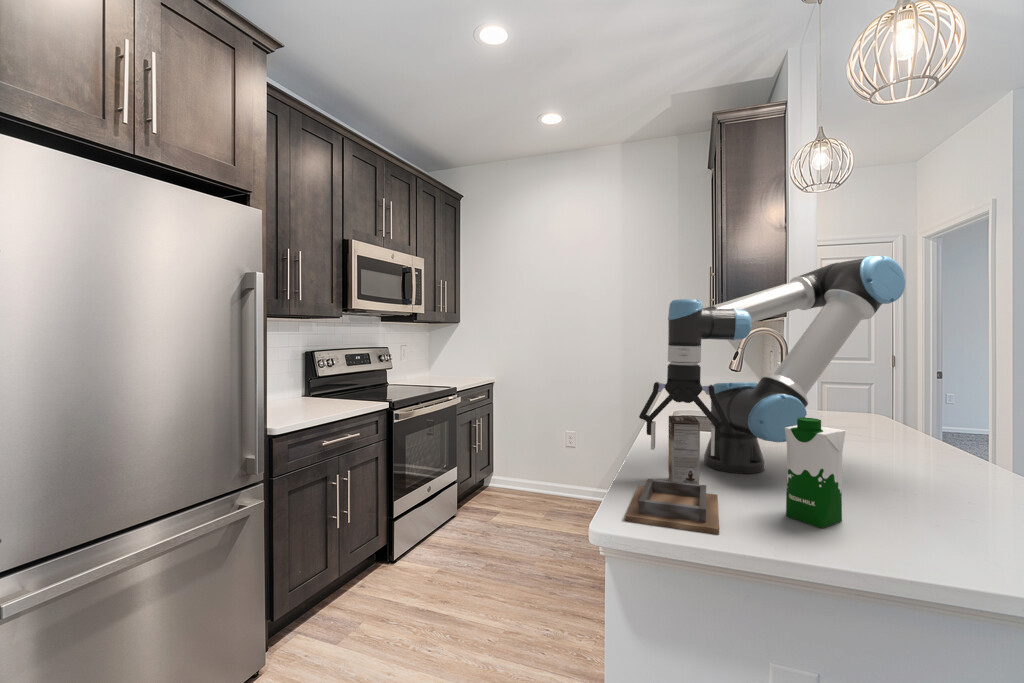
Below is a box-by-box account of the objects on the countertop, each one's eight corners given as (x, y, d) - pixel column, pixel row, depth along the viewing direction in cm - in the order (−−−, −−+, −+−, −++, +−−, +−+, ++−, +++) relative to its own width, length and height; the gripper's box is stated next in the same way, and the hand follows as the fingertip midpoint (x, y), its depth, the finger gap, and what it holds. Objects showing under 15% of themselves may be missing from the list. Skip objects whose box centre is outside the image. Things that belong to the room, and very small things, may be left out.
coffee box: (667, 478, 122) (667, 414, 122) (694, 479, 121) (694, 415, 121) (671, 489, 113) (672, 421, 113) (700, 491, 112) (701, 422, 112)
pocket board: (717, 499, 107) (717, 483, 107) (719, 534, 88) (719, 515, 88) (638, 489, 113) (638, 474, 113) (625, 520, 95) (625, 503, 95)
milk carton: (778, 515, 97) (779, 416, 97) (804, 507, 102) (805, 413, 101) (824, 531, 90) (826, 424, 89) (850, 522, 94) (851, 419, 94)
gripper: (628, 362, 118) (627, 449, 118) (742, 366, 108) (739, 460, 109) (633, 361, 125) (631, 442, 125) (740, 364, 115) (738, 453, 116)
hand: (682, 451), depth 117 cm, fingers open, 13 cm apart
